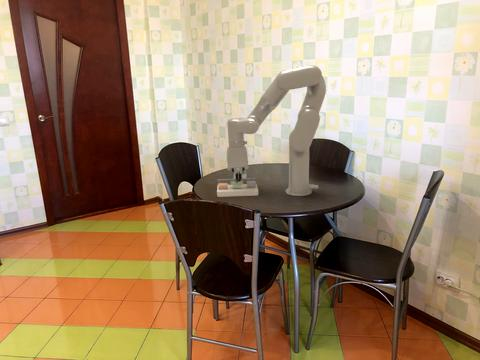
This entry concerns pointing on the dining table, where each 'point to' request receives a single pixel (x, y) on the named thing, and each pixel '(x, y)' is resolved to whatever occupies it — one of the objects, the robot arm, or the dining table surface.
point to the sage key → (237, 185)
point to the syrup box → (244, 173)
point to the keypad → (237, 191)
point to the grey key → (251, 183)
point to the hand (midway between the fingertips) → (238, 180)
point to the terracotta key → (222, 185)
